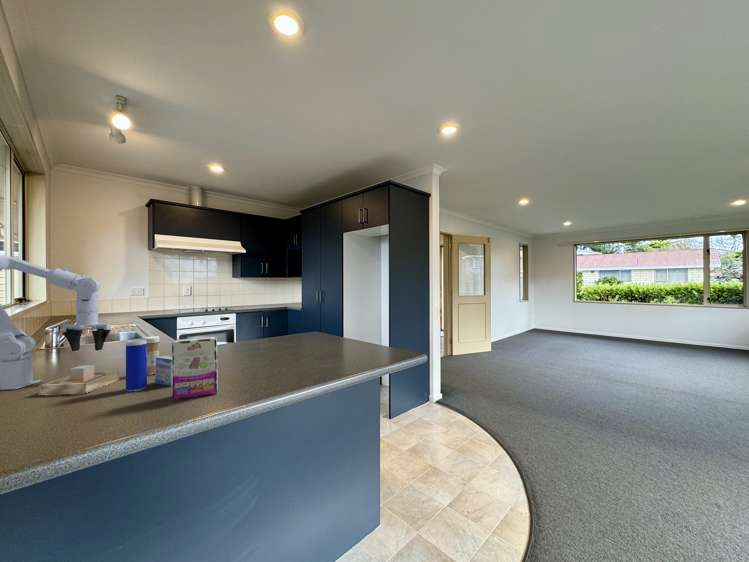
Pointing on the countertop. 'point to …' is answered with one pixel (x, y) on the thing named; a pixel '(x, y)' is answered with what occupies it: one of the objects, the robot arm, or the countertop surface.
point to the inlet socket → (80, 381)
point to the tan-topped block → (82, 373)
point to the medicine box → (164, 370)
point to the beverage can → (136, 365)
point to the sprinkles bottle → (152, 353)
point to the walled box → (77, 385)
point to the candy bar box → (194, 367)
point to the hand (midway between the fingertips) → (87, 350)
